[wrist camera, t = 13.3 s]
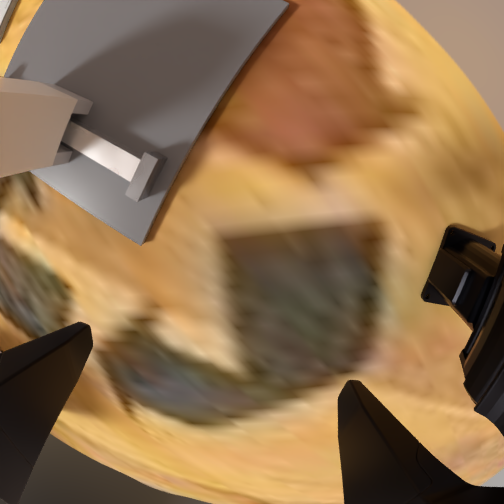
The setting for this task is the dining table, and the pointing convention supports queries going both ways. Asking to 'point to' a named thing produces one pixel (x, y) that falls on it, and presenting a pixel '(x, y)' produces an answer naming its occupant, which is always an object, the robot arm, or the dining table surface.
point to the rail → (116, 157)
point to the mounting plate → (138, 84)
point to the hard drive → (5, 14)
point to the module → (35, 124)
